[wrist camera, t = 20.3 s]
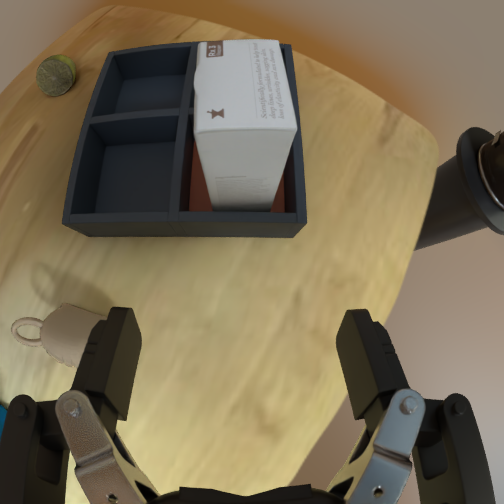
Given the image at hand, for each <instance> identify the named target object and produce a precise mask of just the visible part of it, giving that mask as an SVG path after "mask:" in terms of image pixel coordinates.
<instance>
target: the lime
mask: <svg viewBox="0 0 504 504" xmlns="http://www.w3.org/2000/svg"><path fill="white" fill-rule="evenodd" d="M75 76H76V67H75V64H74V62H73V61H72V60H71V59H70V58H69V57H67V56H64V55H54V56H51V57H48V58H47V59H45V60H44V61H43V62H42V63H41V65H40V66H39V68H38V70H37V76H36V82H37V85H38V86H39V87H40V89H41V90H42V91H43V92H44V93H46V94H47V95H50V96H58V95H61V94H64V93H65V92H66V91H67V90H68V89H69V88H70V87H71V86H72V85H73V83H74V81H75Z"/></svg>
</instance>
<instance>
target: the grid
mask: <svg viewBox="0 0 504 504" xmlns="http://www.w3.org/2000/svg"><path fill="white" fill-rule="evenodd" d="M201 42H210V41H201ZM199 43H200V42H183V43H171V44H161V45H152V46H144V47H137V48H131V49H125V50H119V51H113V52H109V53H108V56H107V58H106V60H105V63H104V65H103V67H102V70H101V72H100V75H99V78H98V80H97V83H96V86H95V88H94V91H93V94H92V97H91V100H90V103H89V106H88V109H87V112H86V115H85V118H84V122H83V125H82V128H81V132H80V136H79V139H78V143H77V147H76V151H75V155H74V159H73V163H72V168H71V173H70V177H69V182H68V188H67V193H66V199H65V205H64V211H63V218H62V224H63V225H65V226H67V227H69V228H71V229H73V230H75V231H77V232H79V233H82V234H84V235H86V236H88V237H271V238H293V237H294V236H295V235H296V234H297V233H298V232H299V231H300V230H301V229H302V228H303V227H304V226H305V225H306V224H307V210H306V192H305V176H304V162H303V149H302V137H301V126H300V116H299V106H298V96H297V87H296V79H295V71H294V63H293V55H292V48H291V45H289V44H284V45H283V44H280V43H279V46H280V49H281V53H282V58H283V62H284V66H285V70H286V75H287V79H288V84H289V89H290V93H291V98H292V103H293V108H294V113H295V117H296V122H297V131H296V134H295V137H294V139H293V142H292V145H291V148H290V151H289V155H288V158H287V161H286V164H285V168H284V170H283V174H282V177H281V180H280V183H279V186H278V189H277V191H276V194H275V198H274V201H273V204H272V207H271V210H270V212H233V211H213V209H212V205H211V201H210V197H209V193H208V188H207V185H206V180H205V176H204V173H203V169H202V165H201V161H200V158H199V154H198V150H197V145H196V141H195V136H194V99H195V89H194V75H195V72H196V65H197V51H198V44H199Z"/></svg>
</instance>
